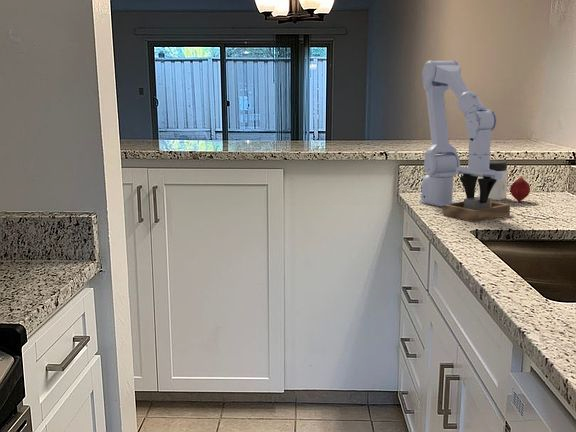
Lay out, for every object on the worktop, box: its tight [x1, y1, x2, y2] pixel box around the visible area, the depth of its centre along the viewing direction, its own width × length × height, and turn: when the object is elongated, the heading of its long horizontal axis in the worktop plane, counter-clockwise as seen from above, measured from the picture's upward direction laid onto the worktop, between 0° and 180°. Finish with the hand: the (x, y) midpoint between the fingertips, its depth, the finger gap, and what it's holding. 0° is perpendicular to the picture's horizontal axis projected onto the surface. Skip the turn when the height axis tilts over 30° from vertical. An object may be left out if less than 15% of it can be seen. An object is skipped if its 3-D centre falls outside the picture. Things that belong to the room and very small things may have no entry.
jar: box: [477, 159, 509, 201], centre depth 191 cm, size 9×8×12 cm
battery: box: [463, 196, 493, 210], centre depth 167 cm, size 4×8×4 cm, turn 123°
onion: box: [509, 176, 531, 202], centre depth 185 cm, size 6×6×8 cm
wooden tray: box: [442, 200, 511, 223], centre depth 167 cm, size 12×14×3 cm
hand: (476, 201), depth 166 cm, fingers open, 4 cm apart
